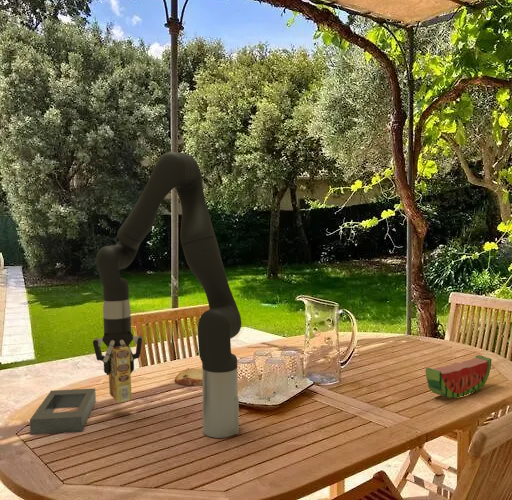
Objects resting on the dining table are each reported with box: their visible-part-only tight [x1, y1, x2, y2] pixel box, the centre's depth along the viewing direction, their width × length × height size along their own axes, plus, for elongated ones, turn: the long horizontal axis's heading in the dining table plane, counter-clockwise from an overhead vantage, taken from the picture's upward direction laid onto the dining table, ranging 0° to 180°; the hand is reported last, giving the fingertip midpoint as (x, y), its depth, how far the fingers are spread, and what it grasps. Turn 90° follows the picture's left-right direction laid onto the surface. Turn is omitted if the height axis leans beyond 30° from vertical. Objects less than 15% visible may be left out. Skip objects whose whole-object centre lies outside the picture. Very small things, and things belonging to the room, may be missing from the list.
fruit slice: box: [425, 355, 492, 399], centre depth 165 cm, size 26×6×10 cm, turn 123°
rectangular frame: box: [29, 388, 97, 435], centre depth 149 cm, size 13×22×4 cm, turn 8°
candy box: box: [106, 346, 133, 404], centre depth 150 cm, size 9×4×15 cm, turn 32°
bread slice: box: [173, 367, 203, 387], centre depth 181 cm, size 18×18×4 cm
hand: (119, 373), depth 150 cm, fingers closed on candy box, 5 cm apart
